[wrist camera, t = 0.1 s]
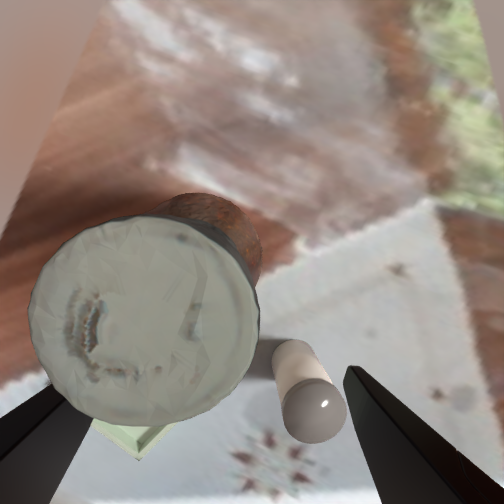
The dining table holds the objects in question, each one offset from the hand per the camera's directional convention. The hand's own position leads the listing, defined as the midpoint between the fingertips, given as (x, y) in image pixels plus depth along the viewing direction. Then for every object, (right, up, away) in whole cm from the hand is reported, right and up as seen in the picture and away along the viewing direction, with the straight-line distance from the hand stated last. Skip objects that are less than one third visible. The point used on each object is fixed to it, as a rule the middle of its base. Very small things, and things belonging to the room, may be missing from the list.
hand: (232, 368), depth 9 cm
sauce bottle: (-3, +6, +15) cm, 16 cm away
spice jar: (+5, -7, +17) cm, 19 cm away
